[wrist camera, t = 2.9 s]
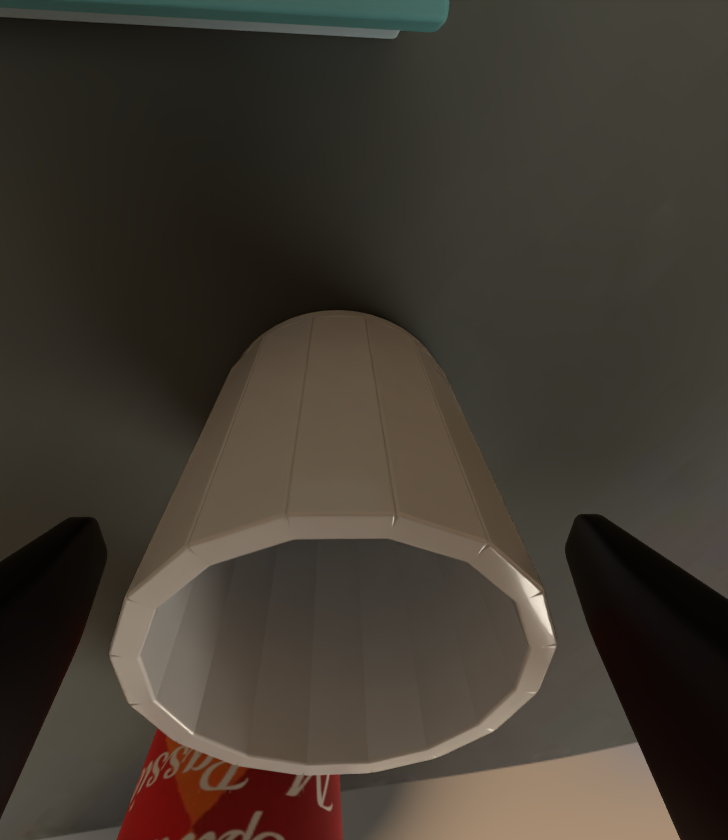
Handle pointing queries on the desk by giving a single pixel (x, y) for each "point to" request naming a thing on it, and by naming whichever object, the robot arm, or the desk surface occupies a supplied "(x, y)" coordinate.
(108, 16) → the teal flat box
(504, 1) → the desk surface
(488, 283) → the desk surface
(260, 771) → the paper cup
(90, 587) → the robot arm
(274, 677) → the beige cup
